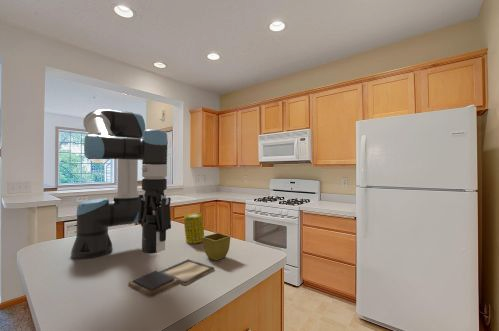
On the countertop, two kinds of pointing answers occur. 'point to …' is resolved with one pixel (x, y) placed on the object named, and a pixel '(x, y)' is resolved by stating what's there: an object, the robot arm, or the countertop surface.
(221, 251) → the flower pot
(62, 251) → the countertop surface
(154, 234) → the supplement bottle
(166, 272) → the board
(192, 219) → the food
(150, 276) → the pad
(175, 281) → the ink tray
